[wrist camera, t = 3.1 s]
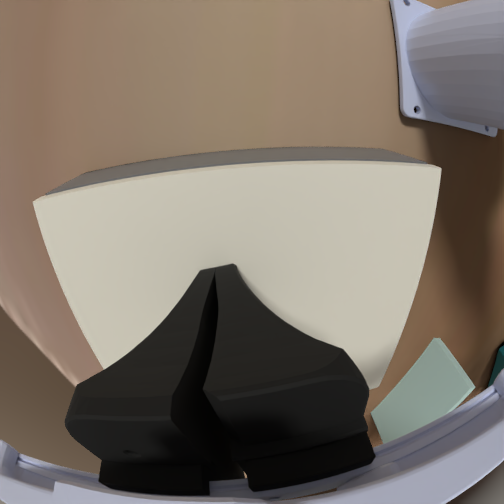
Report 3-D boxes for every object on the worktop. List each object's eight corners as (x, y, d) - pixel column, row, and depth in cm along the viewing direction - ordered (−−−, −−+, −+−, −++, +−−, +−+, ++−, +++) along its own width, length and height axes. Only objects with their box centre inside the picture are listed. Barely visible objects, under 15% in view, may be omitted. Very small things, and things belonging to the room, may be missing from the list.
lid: (432, 164, 10) (441, 168, 9) (375, 380, 16) (378, 386, 16) (40, 196, 9) (32, 201, 8) (135, 407, 15) (134, 414, 15)
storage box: (382, 148, 14) (427, 162, 10) (355, 341, 20) (375, 379, 16) (84, 172, 13) (45, 193, 9) (144, 363, 19) (135, 406, 15)
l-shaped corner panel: (429, 400, 30) (450, 438, 23) (368, 408, 27) (390, 460, 20) (481, 336, 25) (513, 375, 18) (430, 333, 22) (470, 388, 16)
